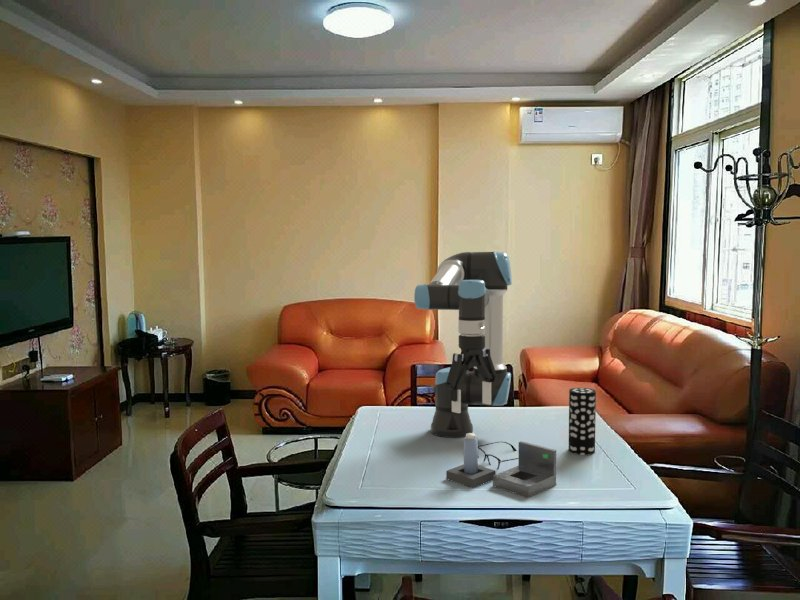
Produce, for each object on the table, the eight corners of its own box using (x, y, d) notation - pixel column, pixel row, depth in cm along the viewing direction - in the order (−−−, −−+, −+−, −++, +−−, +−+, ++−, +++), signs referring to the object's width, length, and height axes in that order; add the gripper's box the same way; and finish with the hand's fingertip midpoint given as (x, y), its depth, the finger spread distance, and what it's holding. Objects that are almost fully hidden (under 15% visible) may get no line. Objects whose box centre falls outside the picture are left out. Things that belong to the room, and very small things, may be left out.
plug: (461, 479, 192) (460, 434, 191) (470, 475, 194) (469, 431, 193) (471, 482, 189) (471, 437, 188) (480, 479, 192) (480, 434, 190)
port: (492, 486, 186) (492, 451, 185) (520, 474, 195) (521, 441, 194) (528, 497, 177) (528, 461, 176) (556, 484, 186) (556, 450, 185)
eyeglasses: (472, 456, 213) (472, 444, 212) (513, 450, 219) (513, 438, 219) (499, 473, 198) (499, 459, 197) (543, 465, 204) (543, 452, 204)
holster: (446, 479, 192) (446, 470, 192) (468, 470, 199) (468, 462, 198) (473, 488, 185) (473, 479, 184) (495, 478, 191) (495, 470, 191)
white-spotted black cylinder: (596, 455, 211) (597, 393, 210) (569, 454, 213) (569, 393, 211) (593, 447, 219) (594, 388, 218) (567, 446, 221) (568, 387, 219)
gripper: (452, 340, 177) (452, 418, 179) (509, 331, 194) (508, 402, 196) (432, 337, 182) (432, 413, 184) (488, 329, 199) (488, 398, 201)
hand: (471, 408), depth 190 cm, fingers open, 13 cm apart
